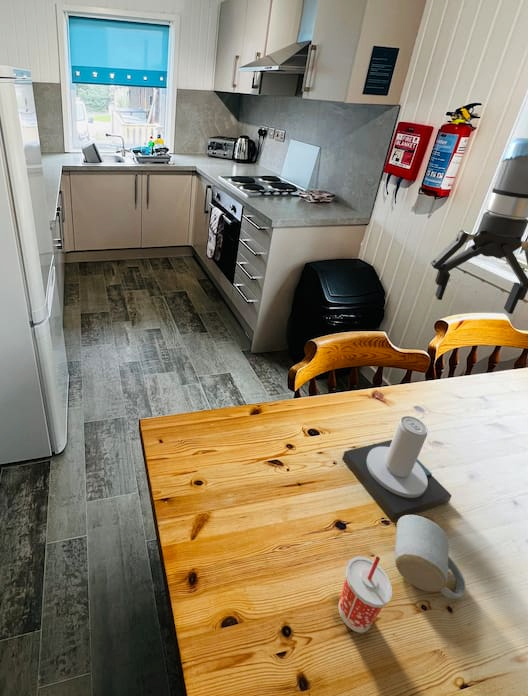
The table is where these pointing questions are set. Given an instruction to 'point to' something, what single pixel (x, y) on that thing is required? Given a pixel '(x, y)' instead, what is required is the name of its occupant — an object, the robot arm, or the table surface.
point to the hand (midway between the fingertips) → (472, 304)
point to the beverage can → (405, 446)
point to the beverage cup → (363, 593)
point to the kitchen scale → (395, 482)
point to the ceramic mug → (425, 556)
